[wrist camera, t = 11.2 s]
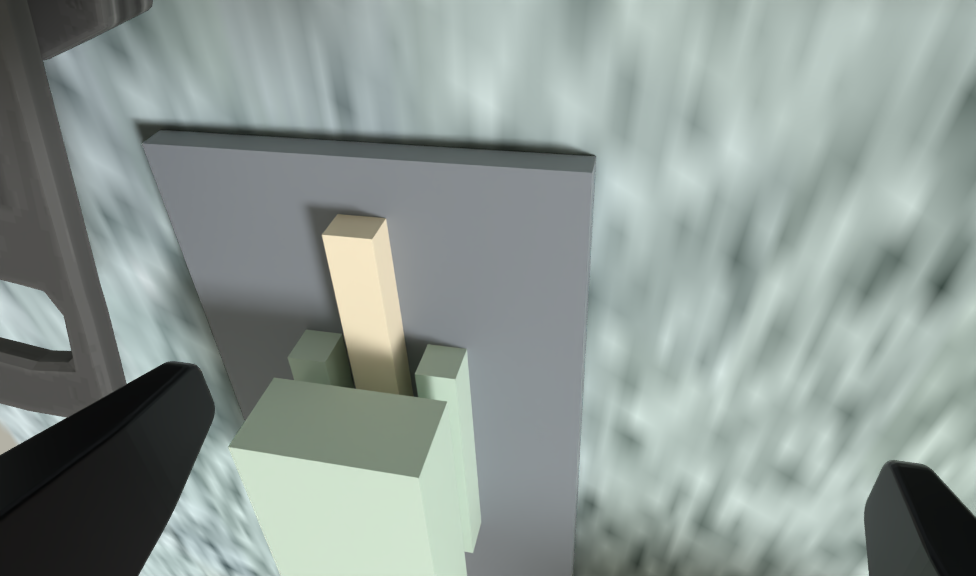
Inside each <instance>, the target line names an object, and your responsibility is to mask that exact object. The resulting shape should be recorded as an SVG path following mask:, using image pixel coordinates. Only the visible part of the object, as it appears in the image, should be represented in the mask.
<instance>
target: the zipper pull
mask: <svg viewBox="0 0 976 576" xmlns="http://www.w3.org/2000/svg"><path fill="white" fill-rule="evenodd" d="M152 3H153V0H0V280H4V281H8V282H12V283H16V284H20V285H24V286H27V287H31V288H34V289H38V290H42V291H44V292H45V293H46V294H47V295H48V297H49V298H50V299H51V300H52V302H53V303H54V304H55V305H56V307H57V308H58V309H59V310H60V312H61V313H62V314H63V315H64V319H65V323H66V328H67V333H68V337H69V342H70V346H71V351H53V350H48V349H44V348H41V347H37V346H33V345H29V344H25V343H21V342H17V341H13V340H9V339H5V338H1V337H0V403H1V404H5V405H9V406H13V407H16V408H20V409H24V410H28V411H33V412H39V413H45V414H50V415H56V416H62V417H69V416H71V415H73V414H74V413H76V412H78V411H80V410H82V409H83V408H85V407H87V406H89V405H91V404H92V403H94V402H96V401H98V400H99V399H101V398H103V397H105V396H107V395H108V394H110V393H112V392H114V391H115V390H117V389H119V388H121V387H123V386H124V385H126V380H125V376H124V372H123V368H122V364H121V360H120V356H119V352H118V348H117V344H116V340H115V336H114V332H113V328H112V324H111V320H110V316H109V312H108V308H107V305H106V301H105V298H104V295H103V291H102V288H101V285H100V281H99V277H98V274H97V270H96V266H95V262H94V258H93V254H92V250H91V246H90V243H89V239H88V235H87V231H86V227H85V223H84V219H83V215H82V212H81V208H80V204H79V200H78V196H77V192H76V188H75V184H74V181H73V177H72V173H71V169H70V165H69V161H68V157H67V153H66V150H65V146H64V142H63V138H62V134H61V130H60V126H59V122H58V118H57V115H56V111H55V107H54V103H53V99H52V95H51V91H50V87H49V84H48V80H47V76H46V72H45V68H44V64H43V60H47V59H50V58H52V57H54V56H57V55H59V54H61V53H63V52H65V51H67V50H69V49H71V48H73V47H75V46H77V45H80V44H82V43H84V42H86V41H88V40H90V39H92V38H94V37H96V36H98V35H100V34H102V33H104V32H106V31H108V30H110V29H112V28H114V27H116V26H118V25H120V24H122V23H124V22H126V21H128V20H130V19H132V18H134V17H136V16H138V15H140V14H142V13H144V12H146V11H148V10H149V9H150V8H151V7H152Z"/></svg>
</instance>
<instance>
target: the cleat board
mask: <svg viewBox="0 0 976 576" xmlns="http://www.w3.org/2000/svg"><path fill="white" fill-rule="evenodd" d="M142 146H143V149H144V151H145V154H146V157H147V159H148V162H149V165H150V167H151V170H152V173H153V175H154V178H155V181H156V183H157V186H158V189H159V191H160V194H161V197H162V200H163V202H164V205H165V208H166V210H167V213H168V216H169V218H170V221H171V224H172V226H173V229H174V232H175V234H176V237H177V240H178V242H179V245H180V248H181V250H182V253H183V256H184V259H185V261H186V264H187V267H188V269H189V272H190V275H191V277H192V280H193V283H194V285H195V288H196V291H197V293H198V296H199V299H200V301H201V304H202V307H203V309H204V312H205V315H206V318H207V320H208V323H209V326H210V328H211V331H212V334H213V336H214V339H215V342H216V344H217V347H218V350H219V352H220V355H221V358H222V360H223V363H224V366H225V368H226V371H227V374H228V376H229V379H230V382H231V385H232V387H233V390H234V393H235V395H236V398H237V401H238V403H239V406H240V409H241V411H242V414H243V417H244V419H245V421H246V419H247V418H248V416H249V415H250V413H251V412H252V410H253V409H254V407H255V406H256V404H257V403H258V401H259V400H260V398H261V397H262V395H263V394H264V392H265V391H266V389H267V388H268V386H269V385H270V383H271V381H272V380H273V378H281V379H289V380H294V378H293V374H292V371H291V367H290V364H289V361H288V356H289V354H290V353H291V351H292V350H293V348H294V347H295V345H296V344H297V342H298V341H299V339H300V338H301V336H302V335H303V333H304V332H305V330H306V329H307V330H315V331H323V332H331V333H340V334H342V335H343V340H344V344H345V349H346V353H347V358H348V362H349V367H350V371H351V375H352V380H353V384H354V389H361V390H368V391H376V392H383V393H390V394H397V395H405V396H412V397H418V393H417V386H416V379H415V372H416V370H417V368H418V365H419V363H420V361H421V359H422V356H423V354H424V352H425V350H426V347H427V345H428V344H430V345H438V346H447V347H455V348H463V349H467V357H468V369H469V381H470V393H471V405H472V417H473V429H474V441H475V453H476V464H477V476H478V488H479V500H480V512H481V525H480V529H479V533H478V536H477V540H476V544H475V548H474V551H473V553H470V552H464V553H465V561H466V570H467V576H573V570H574V551H575V533H576V515H577V496H578V478H579V460H580V441H581V423H582V405H583V386H584V368H585V350H586V332H587V313H588V295H589V277H590V258H591V240H592V222H593V203H594V185H595V167H596V156H581V155H565V154H548V153H532V152H516V151H499V150H483V149H466V148H450V147H433V146H417V145H400V144H384V143H367V142H351V141H334V140H318V139H301V138H285V137H268V136H252V135H235V134H219V133H202V132H186V131H169V130H160V131H158V132H157V133H155V134H154V135H153V136H151V137H150V138H148V139H147V140H146V141H144V142H143V143H142Z"/></svg>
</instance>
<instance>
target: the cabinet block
mask: <svg viewBox="0 0 976 576" xmlns="http://www.w3.org/2000/svg"><path fill="white" fill-rule="evenodd" d="M288 361H289V364H290V367H291V371H292V374H293V378H294V380H289V379H281V378H273V380H272V381H271V383H270V385H269V386H268V388H267V389H266V391H265V392H264V394H263V395H262V397H261V398H260V400H259V401H258V403H257V404H256V406H255V407H254V409H253V410H252V412H251V413H250V415H249V416H248V418H247V419H246V421H245V422H244V424H243V425H242V427H241V428H240V430H239V431H238V433H237V434H236V436H235V437H234V439H233V440H232V442H231V443H230V445H229V446H228V448H229V450H230V453H231V455H232V458H233V460H234V463H235V465H236V468H237V470H238V473H239V475H240V477H241V480H242V482H243V485H244V487H245V490H246V492H247V495H248V497H249V499H250V502H251V504H252V507H253V509H254V512H255V514H256V517H257V519H258V521H259V524H260V526H261V529H262V531H263V534H264V536H265V539H266V541H267V544H268V546H269V548H270V551H271V553H272V556H273V558H274V561H275V563H276V566H277V568H278V570H279V573H280V575H281V576H467V570H466V561H465V553H464V552H470V553H473V551H474V548H475V544H476V540H477V536H478V533H479V529H480V525H481V512H480V500H479V488H478V476H477V464H476V453H475V441H474V429H473V417H472V405H471V393H470V381H469V369H468V357H467V349H463V348H455V347H447V346H438V345H430V344H428V345H427V347H426V350H425V352H424V354H423V356H422V359H421V361H420V363H419V365H418V368H417V370H416V372H415V379H416V386H417V393H418V397H412V396H405V395H397V394H390V393H383V392H376V391H368V390H361V389H354V384H353V380H352V375H351V371H350V367H349V362H348V358H347V353H346V349H345V344H344V340H343V335H342V334H340V333H331V332H323V331H315V330H307V329H306V330H305V332H304V333H303V335H302V336H301V338H300V339H299V341H298V342H297V344H296V345H295V347H294V348H293V350H292V351H291V353H290V354H289V356H288Z"/></svg>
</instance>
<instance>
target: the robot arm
mask: <svg viewBox="0 0 976 576" xmlns="http://www.w3.org/2000/svg"><path fill="white" fill-rule="evenodd" d="M214 413H215V406H214V401H213V399H212V396H211V394H210V391H209V389H208V386H207V384H206V381H205V379H204V376H203V374H202V371H201V370H200V368H199V367H198V366H197V365H195V364H191V363H183V362H176V361H170V362H166V363H164V364H162V365H160V366H158V367H157V368H155V369H153V370H151V371H149V372H148V373H146V374H144V375H142V376H140V377H139V378H137V379H135V380H133V381H132V382H130V383H128V384H126V385H124V386H123V387H121V388H119V389H117V390H115V391H114V392H112V393H110V394H108V395H107V396H105V397H103V398H101V399H99V400H98V401H96V402H94V403H92V404H91V405H89V406H87V407H85V408H83V409H82V410H80V411H78V412H76V413H74V414H73V415H71V416H69V417H67V418H66V419H64V420H62V421H60V422H58V423H57V424H55V425H53V426H51V427H49V428H48V429H46V430H44V431H42V432H41V433H39V434H37V435H35V436H33V437H32V438H30V439H28V440H26V441H24V442H23V443H21V444H19V445H17V446H16V447H14V448H12V449H10V450H9V451H7V452H5V453H3V454H1V455H0V576H138V575H139V574H140V572H141V570H142V568H143V566H144V565H145V563H146V561H147V559H148V557H149V556H150V554H151V552H152V550H153V548H154V547H155V545H156V543H157V541H158V539H159V538H160V536H161V534H162V532H163V530H164V528H165V527H166V525H167V523H168V521H169V519H170V517H171V515H172V513H173V511H174V509H175V507H176V504H177V502H178V500H179V498H180V496H181V493H182V491H183V489H184V486H185V484H186V482H187V479H188V477H189V475H190V472H191V470H192V468H193V465H194V463H195V461H196V459H197V456H198V454H199V452H200V449H201V447H202V445H203V442H204V440H205V438H206V435H207V433H208V431H209V428H210V426H211V424H212V421H213V418H214ZM864 525H865V536H866V547H867V558H868V569H869V576H976V517H975V516H974V515H973V514H972V512H971V511H970V510H969V509H968V508H967V507H966V506H965V505H964V504H963V503H962V502H961V500H960V499H959V498H958V497H957V496H956V495H955V494H954V493H953V492H952V491H951V490H950V488H949V487H948V486H947V485H946V484H945V483H944V482H943V481H942V480H941V479H940V478H939V476H938V475H937V474H936V473H935V472H934V471H933V470H932V469H930V468H929V467H928V466H926V465H923V464H919V463H912V462H904V461H897V460H890V461H888V462H886V463H885V464H884V466H883V467H882V469H881V471H880V473H879V476H878V478H877V480H876V482H875V484H874V486H873V488H872V491H871V493H870V495H869V497H868V499H867V502H866V505H865V511H864Z"/></svg>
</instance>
